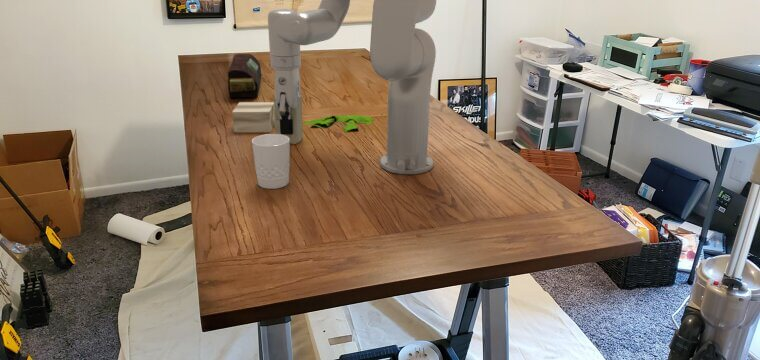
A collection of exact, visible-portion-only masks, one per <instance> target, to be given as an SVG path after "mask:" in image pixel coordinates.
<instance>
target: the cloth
mask: <svg viewBox="0 0 760 360" xmlns="http://www.w3.org/2000/svg"><path fill="white" fill-rule="evenodd" d="M335 121H336V122H340V123H342V122H343V123H345V122H346V123H345V124H344V127H343V128H342V129H343V132H344V133H348V132H355V131H356V132H358V131H359V127H358V126H357V124H365V125H371V124H372V123H373V121H375V118H372V117H371V116H365V115H357V114H355V115H354V114H353V115H351V114H350V115H347V114H346V115H330V116H326V117H320V118H317V119H311V120H307V121H306V122H302V125H311V126H310V129H312V128H313V129H314V128H315V127H317V128H320V129H327V128H328V127H331V125H332V124H334V123H335Z"/></svg>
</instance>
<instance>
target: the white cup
mask: <svg viewBox="0 0 760 360" xmlns="http://www.w3.org/2000/svg"><path fill="white" fill-rule="evenodd" d="M290 145H291V143H290V139H289V137H287V136H285V135H281V134H275V133H267V134H260V135H257V136H255V137H253V138H251V146H252V153H253V154H252V155H253V162H254V168H255V173H256V178H257V185H258V186H259V187H261V188H263V189H266V190H267V189H270V190H271V189H272V190H274V189H280V188H283V187H286V186H288V184H290V165H291V164H290V163H291V158H290V157H291V156H290V155H291V152H290V151H291V150H290V147H291V146H290Z"/></svg>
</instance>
